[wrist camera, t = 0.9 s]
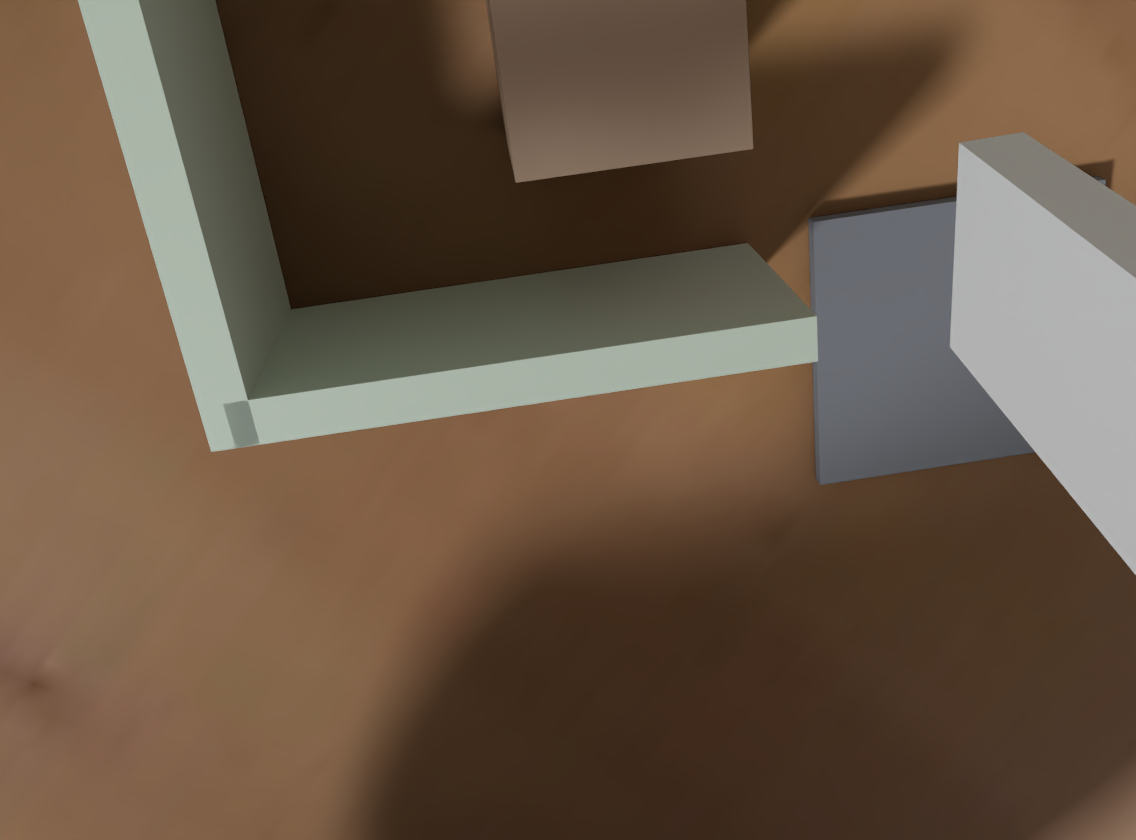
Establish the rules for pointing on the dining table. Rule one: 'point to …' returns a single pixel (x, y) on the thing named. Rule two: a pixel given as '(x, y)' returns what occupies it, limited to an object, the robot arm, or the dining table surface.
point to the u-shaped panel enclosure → (394, 322)
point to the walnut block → (620, 82)
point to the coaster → (894, 348)
